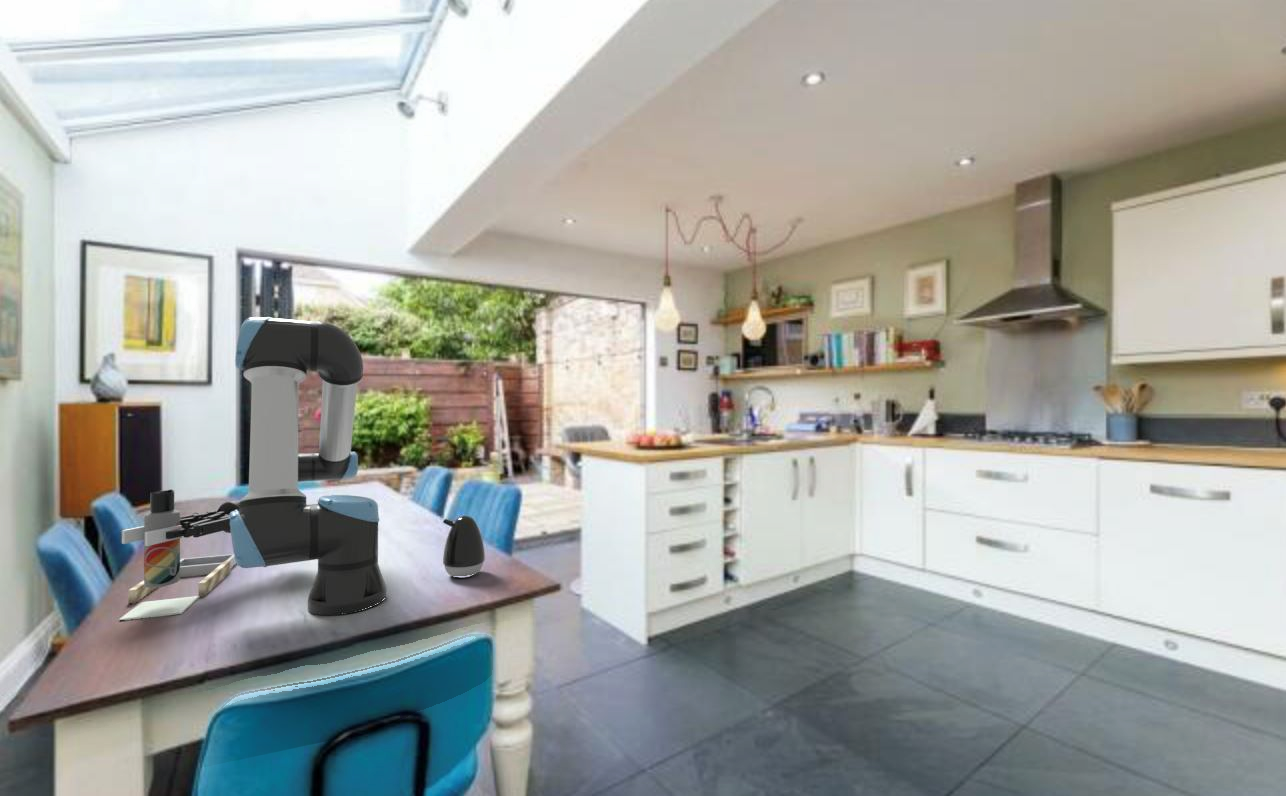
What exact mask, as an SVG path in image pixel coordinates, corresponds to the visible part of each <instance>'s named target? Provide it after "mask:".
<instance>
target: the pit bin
mask: <svg viewBox="0 0 1286 796" xmlns="http://www.w3.org/2000/svg"><path fill="white" fill-rule="evenodd" d="M224 561H230V570H232V569H233V566H234V565H235V566H236V565H238V564H237V563H236V560H235V556H234V553H232V554H220V555H211V556H198V557H197V556H196V557H185V558H180V578H186V577H196V576H198V577H199V576H208V575H209V574H210V573H211V572H212V571H214V570H215V569H216V568H217V567H218V566H219V565H221V564H222V563H223V562H224ZM235 566H234V567H235Z"/></svg>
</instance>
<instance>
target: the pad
mask: <svg viewBox="0 0 1286 796" xmlns="http://www.w3.org/2000/svg"><path fill="white" fill-rule="evenodd" d="M200 597H201V596H198V595H193V596H186V597H175V598H167V599H158V600H157V599H156V600H148V601H142V602H140V603H139V604H138V605H136V606H135V607H134V608H132V609H131V610H129V611H128V612H126V613H125V614H124V615H122V616H121V617H120V618H118V621H119V620H125V621H132V620H131V619H133V620H139V619H140V620H141V618H142V619H149V617H150V618H157V617H158V618H159V617H165V616H173V615H181V614H183V613H184V612H186V611H187V610H188V609H189V607H191V606H193V605H194V603H196V601H197V600H199V599H200Z"/></svg>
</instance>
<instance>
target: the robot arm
mask: <svg viewBox="0 0 1286 796" xmlns="http://www.w3.org/2000/svg"><path fill="white" fill-rule="evenodd" d="M234 362H235V367H236V368H237V369H239V370H241V371H242V370H243V377H244V378H245V379H246V380H247V381H249V382H250V383H251V405H250V436H249V437H250V439H249V440H250V441H249V464H248V465H249V470H248V492H247V494H245V496H243V497H242V498H241V499H235V500H231V501H226V502H223V503H222V504H220V506H219V508H217V511H216V510H212V511H206V512H203V513H198V512H193V513H190V514H186V515H180V525H177V526H173V527H168V528H163V529H159V530H154V531H149V532H145V546H150V545H154V544H158V543H163V542H167V541H171V540H175V539H180V540H181V539H183V538H187V539H188V538H190V537H193V538H200V537H204V536H208V535H211V534H216V533H219V532H225V533H228V534H230V537H231V543H232V544H231V545H232V550H233V554H234V556H235V560H236V563H237V564H236V565H237V566H239V567H240V568H242V569H243V568H244V569H252V568H253V569H254V568H268V567H272V566H278V565H279V566H280V565H286V564H294V563H299V562H307V561H315V560H317V573H316V575H315V578H314V581H313V583H312V586H311V589H310V592H309V594H308V597H307V611H308V612H310V613H312V614H314V615H320V616H337V615H336V614H341V615H345V614H344V613H348V614H352V613H351V612H354V613H356V612H355V611H358V612H360V611H359V610H362V609H365V608H368V607H370V606H373V605H375V604H377V603H379V602H381V601H382V600H383V599H384V598H385V597H386V598H387V586H386V583H385V580H384V577H383V573H382V571H381V568H380V565H379V522H380V516H379V505H378V503H377V501H376V500H374V499H372V498H370V497H366V496H360V495H348V494H347V495H346V494H331V495H323V496H320V497H319V499H318V500H317V503H316V504H315V503H313V504H307V495H306V494H305V493H303V492H302V491H300V489H299V482H300V483H301V482H314V481H315V482H316V481H333V480H334V481H335V480H338V481H339V480H346V479H352V478H353V479H354V478H355V477H356V476H357V475H358V471H359V470H358V469H359V468H358V467H359V462H358V461H359V459H358V454H357V452H356V451H352V440H353V433H354V432H353V430H354V422H355V421H354V420H355V412H356V411H355V409H356V401H357V390H358V384H359V382H361V381H362V379H363V374H364V361H363V356H362V354H361V352H360V350H359V348H358V345H357V344H356V342H355V341H354V340H353V339H352V338H351V336H350V335H349V334H348V333H346V332H345V331H344V329H341V328H340V327H338V326H337V325H335V324H332V323H330V322H325V321H319V320H317V321H314V320H313V321H311V320H298V319H290V318H289V319H287V318H277V317H276V318H275V317H274V318H273V317H271V316H267V317H259V316H258V317H256V316H254V317H253V316H251V317H248V318H246V319H244V321H243V323H242V324H241V326H240V330H239V333H238V338H237V343H236V352H235V361H234ZM308 372H317V373H318V377H319V379H320V380H321V381H322V384H321V385H322V387H321V388H322V389H321V407H320V408H321V409H320V425H319V427H320V428H319V445H318V453H317V452H314V453H313V452H312V453H309V452H308V453H306V452H305V453H301V452H299V404H300V403H299V397H300V394H299V393H300V392H299V389H300V388H299V387H300V386H299V385H300V384H301V383H303V382H304V381H305V380H306V379H307V376H308V374H307V373H308ZM142 540H143V541H144V525H143V526H137V527H132V528H128V529H127V528H126V529H122V530H121V544H123V545H126V544H130V543H135V542H139V541H142ZM362 611H363V610H362ZM342 613H343V614H342Z"/></svg>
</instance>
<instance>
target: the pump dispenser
mask: <svg viewBox="0 0 1286 796" xmlns="http://www.w3.org/2000/svg"><path fill="white" fill-rule="evenodd" d="M442 522H443V524H445V525H447V526H449V527H450V530H449V532H448V535H447V538H446V541H445V543H444V544H445V545H444V549H443V555H442V556H443V557H442V564H443V566H444V569H445V571H446V573H447V574H448V575H449V576H450V575H451V576H450V577H452V576H467V575H472V574H475V573H477V572H478V573H479V572H480V571H481V569H482V567H483V566H484V563H485V559H486V552H485V545H484V540H483V537H482V533H481V530H480V528H479V526H478V523H477V521H476V520H475V519H474V518H473V517H472V516H469V515H462V516H459V517H457V518H456V519H455V520H453V521H452V520H450V519H447V518H444V519H443V521H442ZM478 573H477V574H478Z"/></svg>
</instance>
